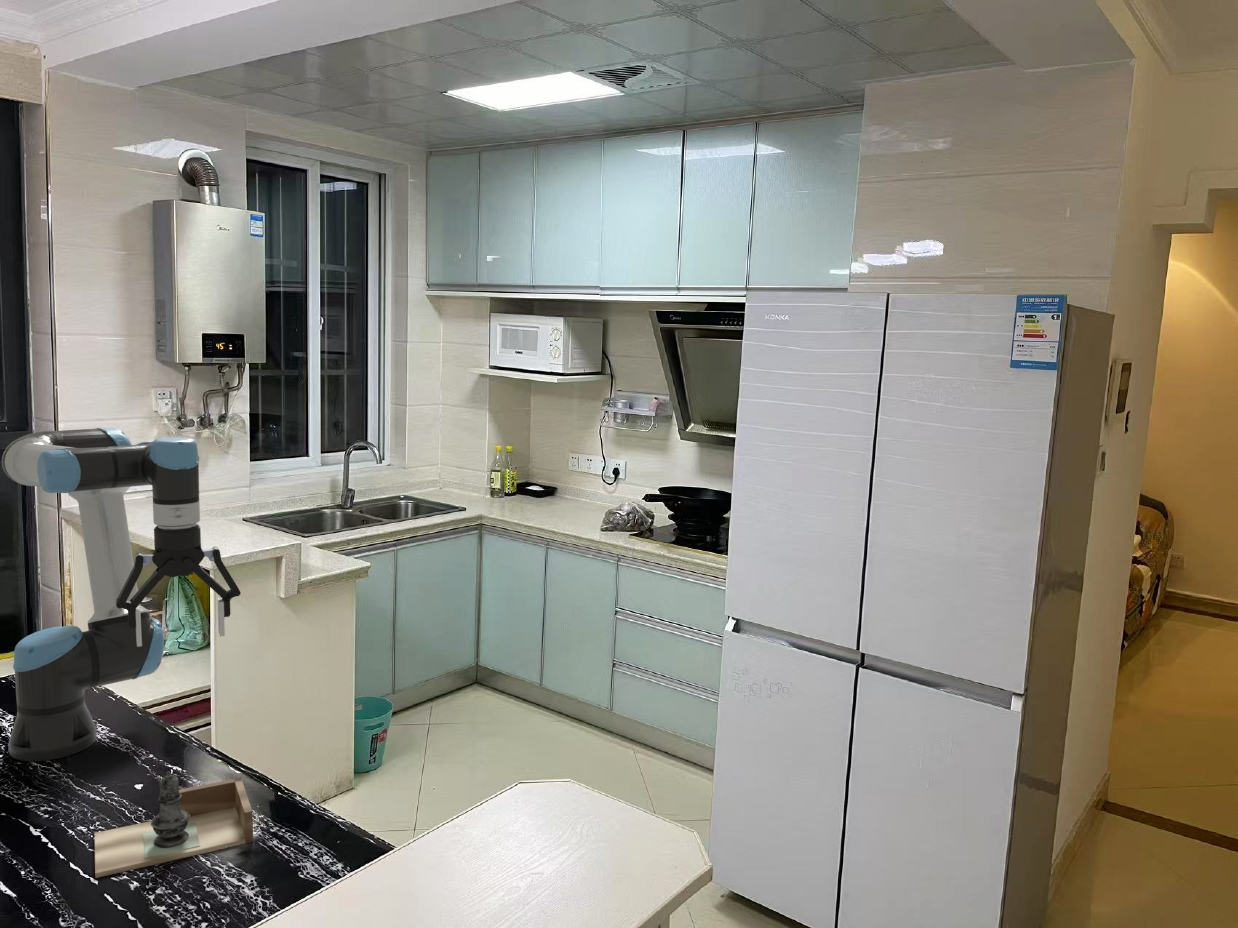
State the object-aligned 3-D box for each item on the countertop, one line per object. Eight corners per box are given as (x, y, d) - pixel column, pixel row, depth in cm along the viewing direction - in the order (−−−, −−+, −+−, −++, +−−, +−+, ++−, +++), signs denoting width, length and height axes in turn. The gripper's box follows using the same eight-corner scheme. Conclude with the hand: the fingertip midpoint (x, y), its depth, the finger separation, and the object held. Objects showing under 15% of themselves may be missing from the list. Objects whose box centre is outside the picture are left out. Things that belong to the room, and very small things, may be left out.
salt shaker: (198, 832, 155) (196, 765, 154) (175, 851, 150) (172, 781, 148) (167, 827, 156) (164, 760, 155) (143, 846, 151) (140, 777, 149)
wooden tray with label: (94, 837, 154) (93, 806, 154) (241, 806, 166) (241, 777, 165) (95, 877, 143) (93, 845, 143) (253, 841, 155) (252, 811, 154)
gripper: (97, 534, 156) (103, 655, 159) (254, 523, 168) (257, 636, 171) (97, 525, 162) (102, 641, 165) (248, 515, 174) (251, 624, 177)
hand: (181, 639), depth 168 cm, fingers open, 13 cm apart
